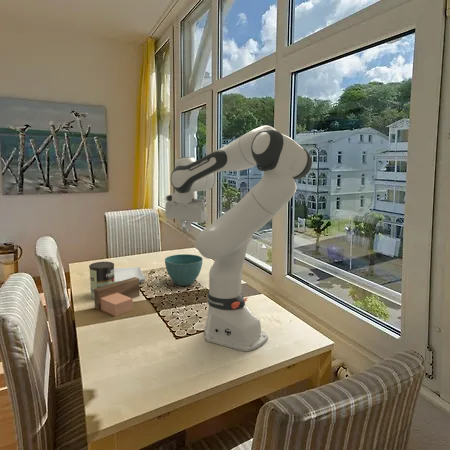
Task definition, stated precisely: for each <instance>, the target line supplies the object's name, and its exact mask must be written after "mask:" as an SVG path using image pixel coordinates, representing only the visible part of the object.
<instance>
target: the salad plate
mask: <svg viewBox="0 0 450 450" xmlns="http://www.w3.org/2000/svg"><path fill="white" fill-rule="evenodd" d="M133 277H136V278H139V284H140V283H142V282H144V281H145V280H146V276H145V275H144V273H143V271H142V269H141V267H139V266H132V267H130V266H129V267H118V268H115V267H114V279H115V283H116V282H120V281H123V280H127V279H130V278H133Z"/></svg>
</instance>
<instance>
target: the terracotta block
mask: <svg viewBox="0 0 450 450" xmlns="http://www.w3.org/2000/svg"><path fill="white" fill-rule="evenodd" d="M133 299H134V298H130V297H127V296H125V295H122V294H120V293H115V294H112V295H109V296H106V297H102V298H100V302H101V309H100V310H101V311H103V312H105V313H107V314H109V315H112V316H114V317H118V316H121V315H122V314H126V313H129V312H132V311H133V310H134V305H133V303H134V301H133Z"/></svg>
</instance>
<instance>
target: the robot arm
mask: <svg viewBox="0 0 450 450" xmlns="http://www.w3.org/2000/svg"><path fill="white" fill-rule="evenodd" d="M255 166H256V168H257V170H259V171H261V172H263V176H262V178H261V179H260V180H259V181H258V183H256V184H255V185H254V186H253V187H252V188H251V189H249V191H248V192H247V193H246V194H245V195H244V196H242V198H241V199H240V200H239V201H238V202H237V203H236V204H235V205H234V206H232V207H231V208H230V209H229V210H227V211H225V212H224V213H223V214H222V215H220V216H219V217H218V218H217V219H216V220H214V221H213V222H212V223H211V224H210V225H209V226H207V227H205V228H203V229H202V230H201V231H200V232H199V233H198V234H197V237H196V249H197V251H198V252H199V254H200V255H201V257H202V256H203V257H204V258H205V259H208V260H213V259H214V261H213V264H212V265H211V266H210V269H209V273H208V275H209V276H208V278H209V280H208V281H209V282H208V283H209V284H208V289H209V290H208V291H207V292H208V293H207V305H208V309H207V318H206V322H205V326H204V330H203V332H204V335H205V339H204V340H205V341H206V342H208V343H213V344H215V345H219V346H220V345H221V346H223V347H227V348H231V349H233V350H234V349H235V350H238V351H241V352H248V351H253V350H255V349H258V348H259V347H261V346H262V345H264V343H266V342H267V340H268V337H269V336H268V333H267V332H265V331H263V330H262V326H261V321H260V319H259V318H258V317H257V316H256V315H255V314H254V312H253V311H252V310H251V309H250V308H249V307H248V306H247V305H246V302H247V301H248V298H249V297H248V296H246V297H244V295H243V292H242V278H243V276H242V275H243V269H244V263H245V259H246V255H247V251H248V248H249V245H250V243H251V242H252V239H253V235H254V234H256V233H257V232H259V231H260V230H261V229H262V228H263V227H265V226H266V225H267V224H268V223H269V222H270V221H271V220H272V219H273V218H274V217H275V216H276V215H277V214H279V212H281V210H283V209H284V208H285V206H286V205H287V204H288V203H289V201H290V200H291V199H292V198H293V197H294V195H295V194H296V192H297V183H296V180H300V179H303V178H304V177H306V176H307V175H308V174H309V172H310V171H311V168H312V166H313V158H312V155H311V154H310V153H309V152H308V151H307V149H306V148H305V147H303V146H301V145H300V143H299V144H298V143H297V142H296V141H295V140H294V139H292V137H289V136H287V135H285V134H283V133H281V132H280V131H279V130H276V129H275V128H274V127H272V126H270V125H262V126H259V127H257V128H254V129H252V130H250V131H248V132H246V133H245V134H243V135H241V136H239V137H237V138H236V139H234V140H233V141H231V142H230V143H228V144H226V145H225V146H222V147H220V148H219V149H217V150H215V151H213V152H210V153H209V154H207V155H205V156H203V157H201V158H199V159H198V160H196V158H194V157H193V156H183V157H178V158H177V159H176V161H175V164H174V169H173V170H172V172H171V175H170V184H171V186H172V187H173V189H174V193H171V194H168V195H165V201H166V203H165V205H164V206H165V216H166V218H167V219H171V220H172V219H174V220H179V221H178V222H179V225H180V227H181V231H182V232H190V227H191V225H192V223H199V224H202V223H206V221H207V209H206V203H205V201H204V200H203V199H202V198H201V199H200V198H199V199H198V198H197V192H204V191H209V190H211V189H213V187H214V186H215V184H216V183H215V182H216V175H215V173H219V172H220V173H221V172H239V171H245V170H248V169H251V168H254V167H255Z"/></svg>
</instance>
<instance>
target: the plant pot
mask: <svg viewBox="0 0 450 450" xmlns="http://www.w3.org/2000/svg"><path fill="white" fill-rule="evenodd" d="M203 262H204V261H203V257H202V256H200V255H197V254H186V253H183V254H182V253H181V254H173V255H169V256H166V257H165V258H164V265H165V267H166V268H165V269H166V271H167V273H168V276H169V277H170V279H171V280H172V281H173V283H174V284H175V285H177V286H182V287H183V286H190V285H192V284H193V283H194V282H195V281H196V280H197V278H198V277H199V275H200V273H201V270H202V266H203Z"/></svg>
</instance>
